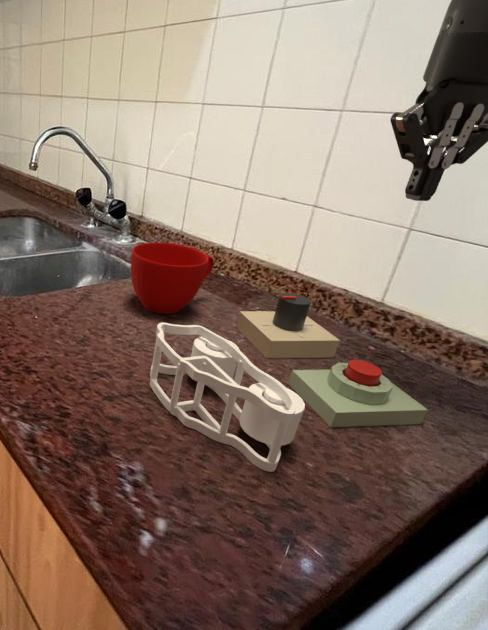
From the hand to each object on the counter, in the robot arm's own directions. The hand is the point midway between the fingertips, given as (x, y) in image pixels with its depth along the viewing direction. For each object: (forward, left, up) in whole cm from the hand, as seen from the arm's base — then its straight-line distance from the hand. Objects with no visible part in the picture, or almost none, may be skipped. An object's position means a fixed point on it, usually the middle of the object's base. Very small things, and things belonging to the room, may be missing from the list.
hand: (417, 199), depth 55 cm
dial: (+6, -8, -21) cm, 24 cm away
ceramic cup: (+20, -22, -25) cm, 39 cm away
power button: (+6, +8, -21) cm, 23 cm away
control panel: (+6, -8, -24) cm, 26 cm away
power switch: (+6, +8, -24) cm, 26 cm away
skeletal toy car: (+25, +9, -25) cm, 36 cm away
